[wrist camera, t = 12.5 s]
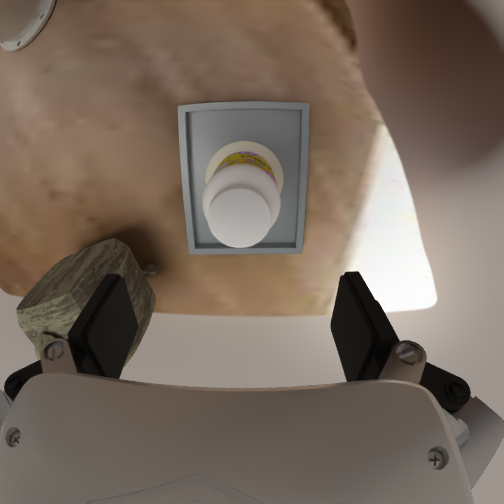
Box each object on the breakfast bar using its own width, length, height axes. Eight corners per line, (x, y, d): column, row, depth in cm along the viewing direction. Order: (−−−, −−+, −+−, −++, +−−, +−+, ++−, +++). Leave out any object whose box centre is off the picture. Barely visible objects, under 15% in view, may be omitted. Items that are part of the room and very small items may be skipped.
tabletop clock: (97, 293, 40) (26, 418, 18) (69, 247, 36) (-29, 362, 14) (170, 273, 38) (110, 436, 16) (142, 216, 34) (31, 364, 12)
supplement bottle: (285, 177, 31) (305, 220, 20) (245, 216, 34) (242, 275, 22) (243, 137, 29) (237, 155, 18) (203, 179, 31) (176, 222, 20)
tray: (182, 105, 28) (177, 105, 26) (305, 104, 28) (309, 103, 26) (192, 246, 36) (189, 254, 35) (299, 245, 37) (301, 253, 35)
